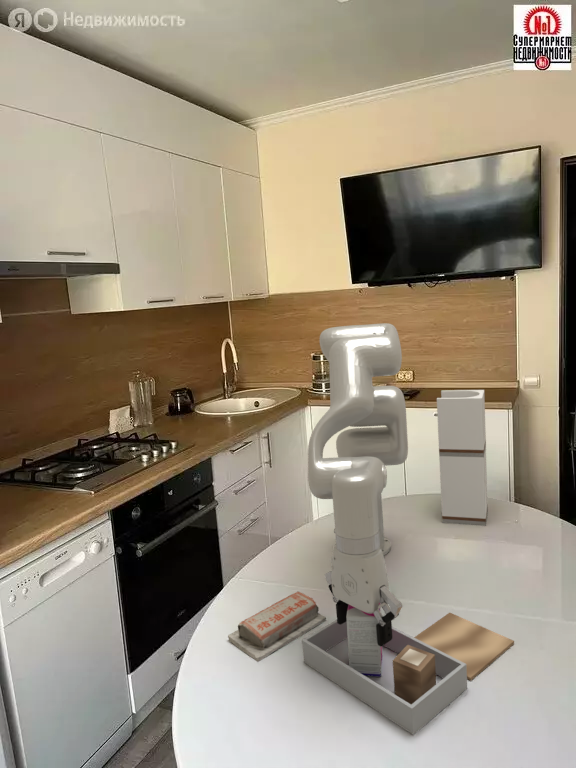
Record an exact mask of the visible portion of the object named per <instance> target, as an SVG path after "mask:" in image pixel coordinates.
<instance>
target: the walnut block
mask: <svg viewBox="0 0 576 768" xmlns="http://www.w3.org/2000/svg"><path fill="white" fill-rule="evenodd" d="M392 670H393V671H392V673H393V674H392V675H393V686H394V694H395V695H396V696H398V697H400V698H401V699H403V700H405V701H406V702H408V703H409V704H413V703H414V702H415V701H416V700H418V699H419V698H420V697H421V696H423V695H424V694H425V693H426V692H427V691H429V690H430V689H431V688H432V687H434V686H435V685H436V684H437V674H436V669H435V655H434V654H432V653H429V652H426V651H423V650H421V649H418V648H415V647H413V646H410V645H407V646H406V647H405V648H404V649H403V650H402V651H401V652H400V653H399V654H398V653H397V654H396V656H395V658H394V659H392Z"/></svg>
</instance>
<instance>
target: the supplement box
mask: <svg viewBox="0 0 576 768" xmlns="http://www.w3.org/2000/svg"><path fill="white" fill-rule="evenodd" d="M379 604H380V603H379ZM379 610H380V611H381V608H380V609H379ZM346 618H347V636H348V637H347V651H348V655H347V656H348V666H350V667H351V668H353V669H354V670H356V671H358V672H359V673H361V674H363V675H364V676H366V677H378V678H380V677H382V663H383V646H379V645H378V644H377V630H376V624H378V623H379V622H378V620H377V619H376V617H375V615H374V613H372V614H369V613H366V612H363V611H361V610H359V609H357V608H355V607H353V606H351V605H349V604H348V610H347V616H346Z"/></svg>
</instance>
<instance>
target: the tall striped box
mask: <svg viewBox="0 0 576 768" xmlns="http://www.w3.org/2000/svg"><path fill="white" fill-rule="evenodd" d="M440 394H441V395H440V396H441V397H437V398H436V414H437V434H438V435H437V436H438V453H439V457H438V458H439V459H438V460H439V479H440V482H439V483H440V499H441V501H440V502H441V504H440V505H441V523H442V524H449V525H464V526H465V525H467V526H482V527H486V526H487V521H488V513H489V503H488V475H487V436H486V435H487V434H486V433H487V431H486V406H485V389H454V390H453V389H452V390H451V389H450V390H448V389H447V390H446V389H445V390H441V391H440Z"/></svg>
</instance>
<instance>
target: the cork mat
mask: <svg viewBox="0 0 576 768" xmlns="http://www.w3.org/2000/svg"><path fill="white" fill-rule="evenodd" d="M413 637H414V638H416V639H418V640H420V641H422V642H424V643H426V644H428V645H430V646H432V647H434V648H436V649H438V650H440V651H442V652H443V653H445V654H447V655H449V656H451V657H453V658H455V659H457V660H459V661H461V662H463V663H465V664H466V668H467V681H470V682H472V681H473V680H474V679H475V678H476V677H477V676H479V674H481V673H482V672H483V671H485V670H486V669H487V668H488V667H489V666H490V665H491V664H493V663H494V662H495V661H496V660H497V659H498V658H500V657H501V656H502V655H503V654H505V652H506V651H508V650H509V649H510V648H511V647H512V646H514V645H515V640H513V639H510V637H506V636H503V635H501V634H499V633H497V632H496V631H494V630H493V631H492V630H490V629H489V628H486V627H483V626H482V625H480V624H478V623H474V622H472V621H470V620H468V619H466V618H463V617H461V616H459V615H456V614H454V613H453V612H447V614H445V615H443V617H441V618H439V619H438V620H436V622H434V623H432V624H431V625H429V626H428V627H427V628H426V629H425V628H424V629H423V630H422V631H421V632H420V633H418V634H417V635H415V636H413Z"/></svg>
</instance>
